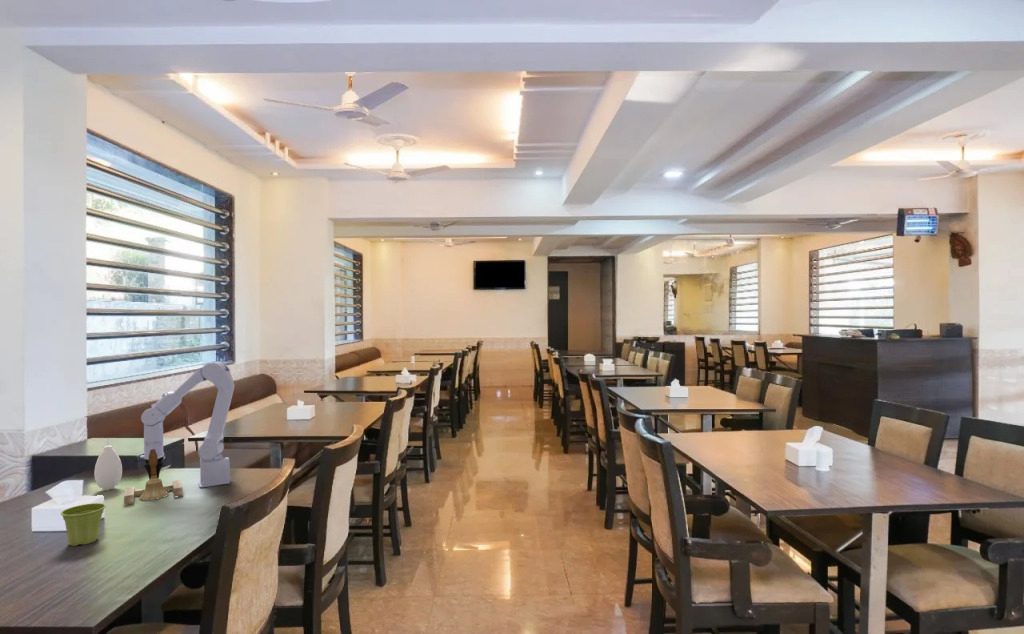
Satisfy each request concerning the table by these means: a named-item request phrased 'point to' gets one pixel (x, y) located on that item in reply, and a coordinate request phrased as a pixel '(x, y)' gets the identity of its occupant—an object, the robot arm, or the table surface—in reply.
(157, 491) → the hand bell
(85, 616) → the table surface
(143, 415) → the robot arm
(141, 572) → the table surface
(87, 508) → the plant pot
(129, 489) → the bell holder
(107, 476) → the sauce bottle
